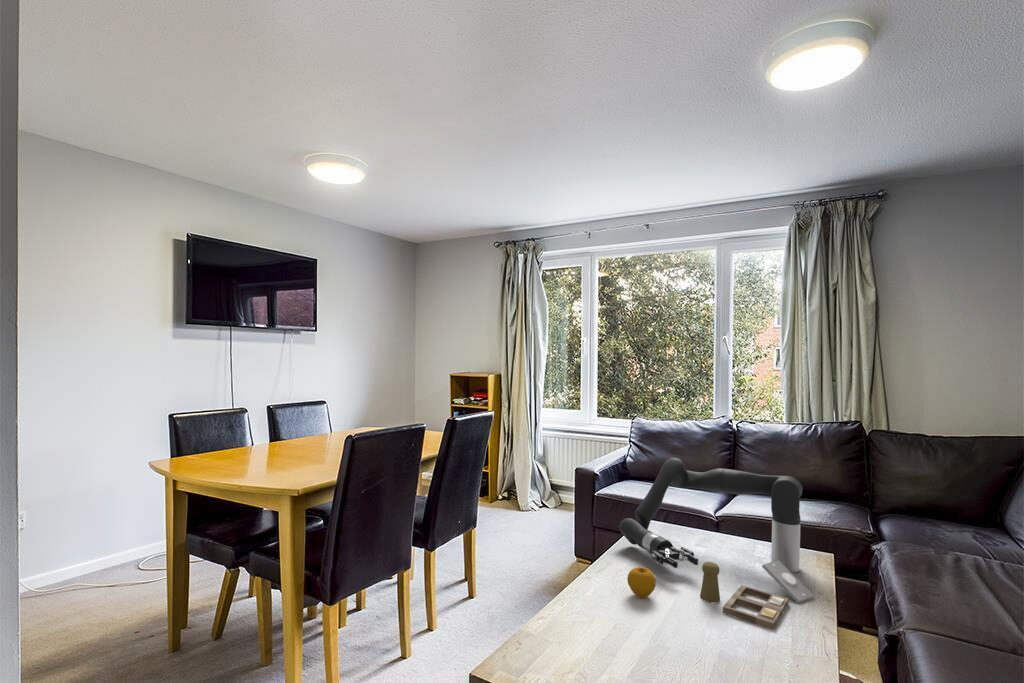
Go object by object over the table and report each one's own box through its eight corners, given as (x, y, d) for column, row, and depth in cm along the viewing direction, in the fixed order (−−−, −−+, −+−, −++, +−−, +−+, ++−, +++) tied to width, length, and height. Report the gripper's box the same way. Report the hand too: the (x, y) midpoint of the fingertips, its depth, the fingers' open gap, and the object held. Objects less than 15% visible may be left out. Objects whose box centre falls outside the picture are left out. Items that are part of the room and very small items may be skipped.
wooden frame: (741, 590, 171) (741, 583, 171) (788, 604, 163) (788, 597, 163) (722, 612, 156) (722, 605, 156) (773, 629, 147) (773, 621, 147)
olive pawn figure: (696, 593, 168) (697, 559, 168) (714, 593, 168) (715, 559, 169) (705, 602, 162) (706, 567, 162) (723, 602, 162) (724, 567, 163)
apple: (633, 587, 171) (634, 559, 171) (659, 595, 166) (660, 567, 166) (622, 596, 164) (623, 568, 164) (649, 605, 159) (650, 576, 159)
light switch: (800, 599, 163) (764, 562, 174) (791, 612, 165) (756, 574, 176) (816, 594, 167) (779, 558, 178) (807, 606, 169) (771, 570, 180)
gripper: (672, 554, 193) (703, 572, 178) (640, 558, 188) (669, 577, 173) (673, 534, 193) (704, 550, 178) (641, 537, 188) (670, 554, 173)
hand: (686, 563), depth 176 cm, fingers open, 8 cm apart
